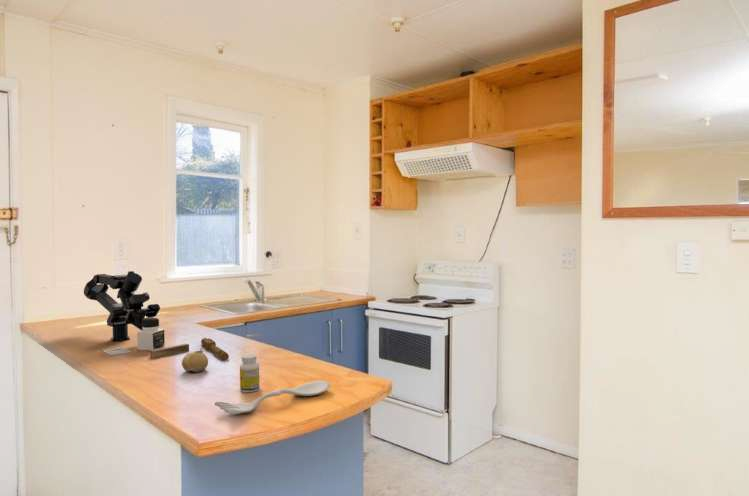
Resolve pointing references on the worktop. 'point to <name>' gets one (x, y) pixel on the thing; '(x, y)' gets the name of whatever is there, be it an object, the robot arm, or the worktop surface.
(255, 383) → the supplement bottle
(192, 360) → the onion
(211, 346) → the tap handle
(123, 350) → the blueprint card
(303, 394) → the spoon
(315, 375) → the worktop surface
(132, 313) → the robot arm
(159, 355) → the stop bar
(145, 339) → the medicine bottle
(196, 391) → the worktop surface
